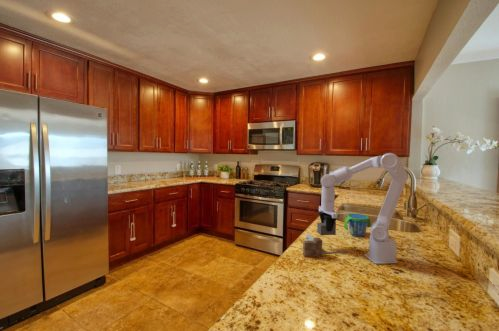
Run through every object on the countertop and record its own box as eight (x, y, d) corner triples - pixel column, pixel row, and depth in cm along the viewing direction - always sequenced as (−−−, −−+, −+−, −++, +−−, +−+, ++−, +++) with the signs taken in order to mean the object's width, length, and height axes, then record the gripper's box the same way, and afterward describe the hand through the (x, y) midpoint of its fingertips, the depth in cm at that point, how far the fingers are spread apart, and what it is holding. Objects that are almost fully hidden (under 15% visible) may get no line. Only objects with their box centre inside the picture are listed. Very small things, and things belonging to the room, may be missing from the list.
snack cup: (349, 238, 115) (350, 219, 114) (338, 231, 125) (339, 213, 125) (376, 237, 117) (377, 218, 117) (363, 230, 128) (364, 212, 127)
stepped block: (331, 231, 106) (331, 219, 105) (335, 234, 102) (336, 221, 101) (317, 232, 105) (317, 219, 105) (320, 235, 101) (321, 222, 101)
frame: (347, 251, 100) (347, 236, 99) (351, 255, 96) (352, 239, 96) (301, 253, 97) (302, 237, 97) (304, 257, 94) (305, 240, 94)
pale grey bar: (320, 251, 99) (320, 243, 98) (316, 252, 98) (316, 243, 98) (308, 241, 110) (308, 233, 110) (304, 241, 110) (304, 233, 110)
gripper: (313, 197, 109) (312, 224, 110) (326, 203, 95) (325, 235, 96) (327, 197, 110) (326, 224, 111) (342, 203, 96) (341, 234, 96)
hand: (326, 229), depth 103 cm, fingers closed on stepped block, 4 cm apart
